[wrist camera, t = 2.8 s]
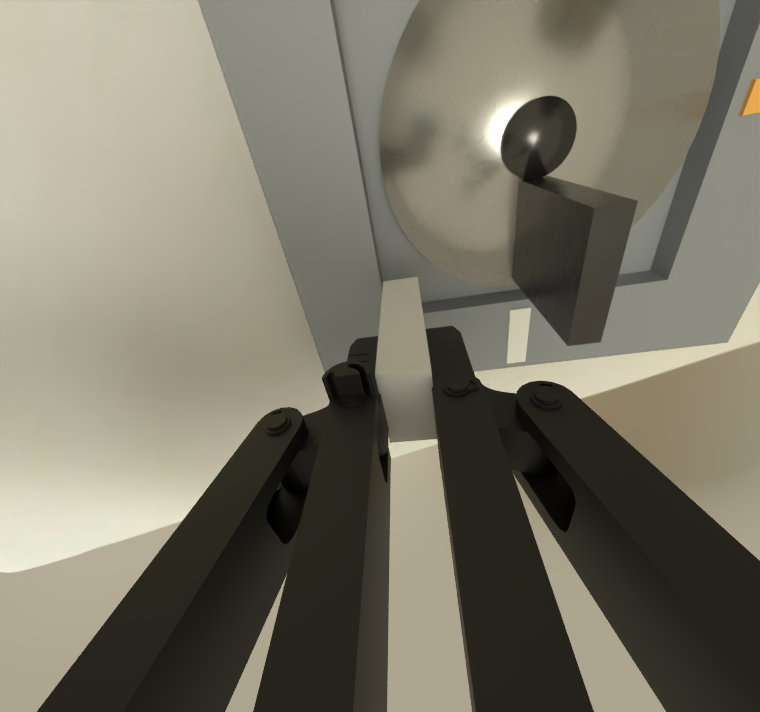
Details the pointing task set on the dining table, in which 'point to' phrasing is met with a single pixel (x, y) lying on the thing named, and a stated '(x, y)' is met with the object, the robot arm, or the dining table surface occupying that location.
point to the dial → (542, 138)
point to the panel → (400, 257)
